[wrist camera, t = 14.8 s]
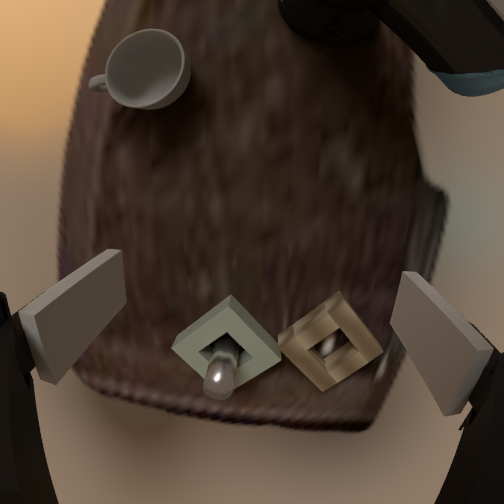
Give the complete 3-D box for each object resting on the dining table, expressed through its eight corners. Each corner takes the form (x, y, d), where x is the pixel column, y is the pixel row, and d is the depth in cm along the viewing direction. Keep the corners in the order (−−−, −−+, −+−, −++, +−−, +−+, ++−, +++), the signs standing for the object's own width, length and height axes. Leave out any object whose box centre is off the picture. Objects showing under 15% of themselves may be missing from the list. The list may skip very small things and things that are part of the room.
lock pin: (228, 326, 48) (218, 372, 37) (245, 343, 49) (239, 391, 37) (210, 339, 49) (196, 386, 38) (227, 355, 50) (217, 403, 38)
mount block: (339, 290, 46) (345, 301, 42) (376, 339, 48) (383, 351, 44) (277, 334, 48) (278, 348, 44) (319, 377, 51) (322, 392, 47)
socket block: (231, 294, 47) (228, 305, 43) (280, 346, 49) (281, 360, 45) (177, 335, 49) (171, 348, 45) (226, 380, 51) (223, 395, 48)
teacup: (201, 46, 37) (189, 25, 29) (193, 115, 40) (178, 105, 32) (115, 53, 37) (90, 37, 29) (106, 117, 40) (78, 111, 32)
